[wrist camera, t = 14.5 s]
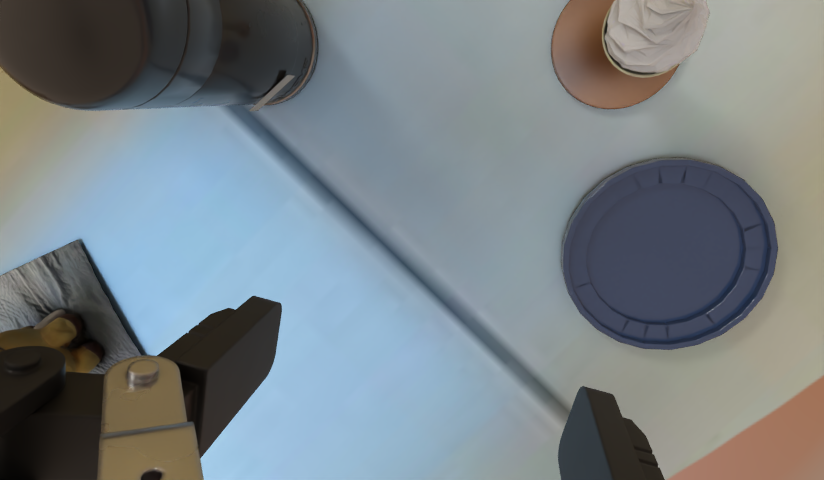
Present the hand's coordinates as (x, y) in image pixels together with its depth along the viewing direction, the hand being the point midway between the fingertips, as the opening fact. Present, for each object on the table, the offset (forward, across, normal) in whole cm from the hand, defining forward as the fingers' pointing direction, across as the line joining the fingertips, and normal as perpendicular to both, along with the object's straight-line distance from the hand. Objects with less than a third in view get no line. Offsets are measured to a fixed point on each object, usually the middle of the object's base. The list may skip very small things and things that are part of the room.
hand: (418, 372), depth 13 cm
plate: (+29, -16, +2) cm, 33 cm away
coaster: (+29, -8, -12) cm, 32 cm away
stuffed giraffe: (+30, +36, +26) cm, 53 cm away
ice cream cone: (+29, -8, -12) cm, 32 cm away
